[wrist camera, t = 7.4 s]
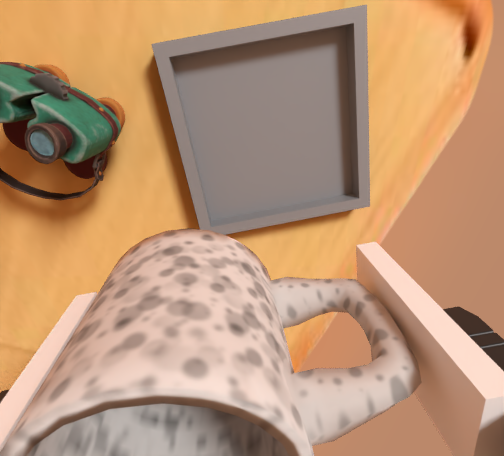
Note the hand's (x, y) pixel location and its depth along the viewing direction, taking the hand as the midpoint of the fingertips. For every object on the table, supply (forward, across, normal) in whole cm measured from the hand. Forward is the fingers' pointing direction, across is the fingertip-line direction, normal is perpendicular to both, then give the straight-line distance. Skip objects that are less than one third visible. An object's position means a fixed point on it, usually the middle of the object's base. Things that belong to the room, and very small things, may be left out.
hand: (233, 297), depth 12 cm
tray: (+19, -4, -3) cm, 20 cm away
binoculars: (+19, +12, -6) cm, 23 cm away
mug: (+1, 0, 0) cm, 1 cm away
